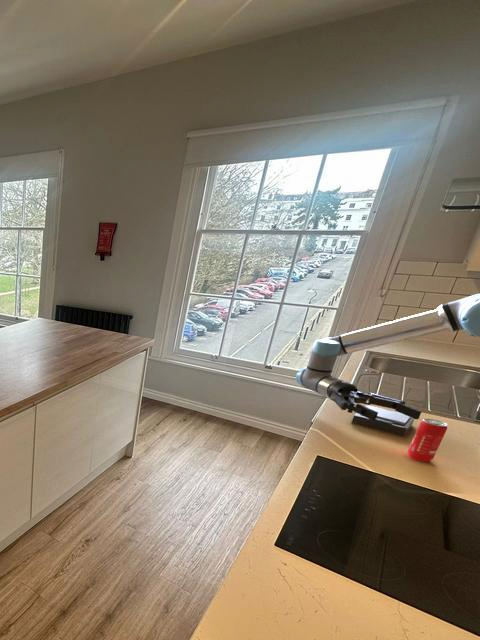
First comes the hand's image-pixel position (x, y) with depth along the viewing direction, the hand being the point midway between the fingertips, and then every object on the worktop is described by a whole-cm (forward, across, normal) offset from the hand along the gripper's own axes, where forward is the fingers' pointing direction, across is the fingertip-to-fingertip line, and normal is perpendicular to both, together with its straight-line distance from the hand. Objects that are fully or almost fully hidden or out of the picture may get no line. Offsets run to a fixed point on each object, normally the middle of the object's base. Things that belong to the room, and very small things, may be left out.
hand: (397, 416), depth 124 cm
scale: (-12, -10, -10) cm, 19 cm away
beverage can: (+10, 0, -10) cm, 14 cm away
